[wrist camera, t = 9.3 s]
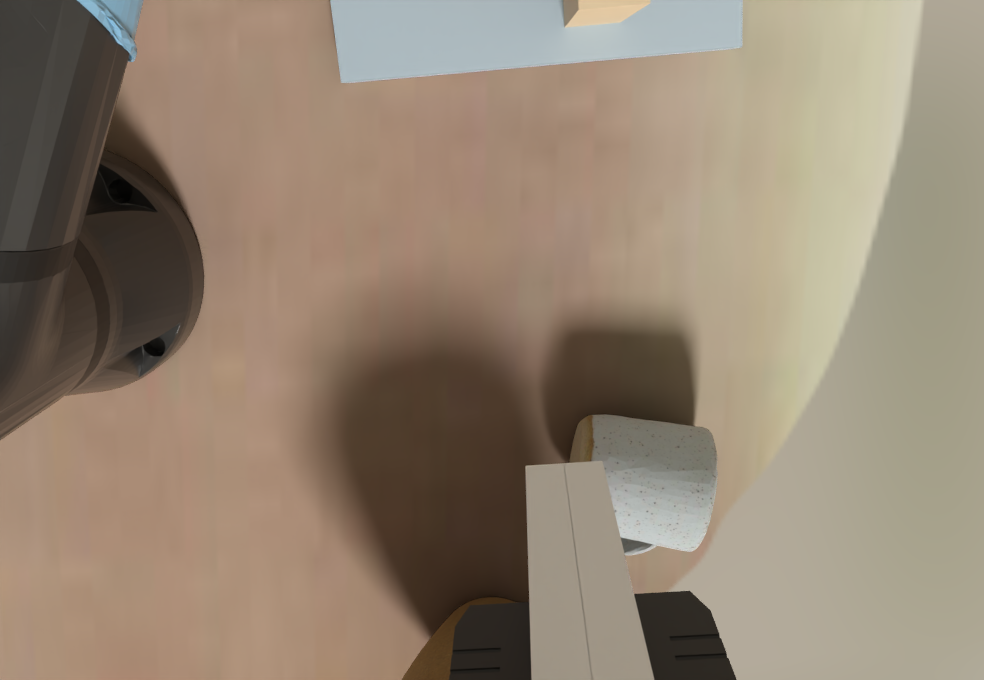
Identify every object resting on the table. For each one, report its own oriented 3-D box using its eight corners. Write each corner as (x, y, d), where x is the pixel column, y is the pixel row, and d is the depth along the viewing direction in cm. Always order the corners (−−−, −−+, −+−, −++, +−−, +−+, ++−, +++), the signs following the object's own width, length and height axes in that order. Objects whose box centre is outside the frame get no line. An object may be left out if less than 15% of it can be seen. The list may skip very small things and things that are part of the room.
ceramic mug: (576, 392, 52) (585, 444, 44) (701, 408, 52) (731, 463, 44) (551, 534, 55) (556, 604, 48) (669, 549, 55) (692, 621, 48)
